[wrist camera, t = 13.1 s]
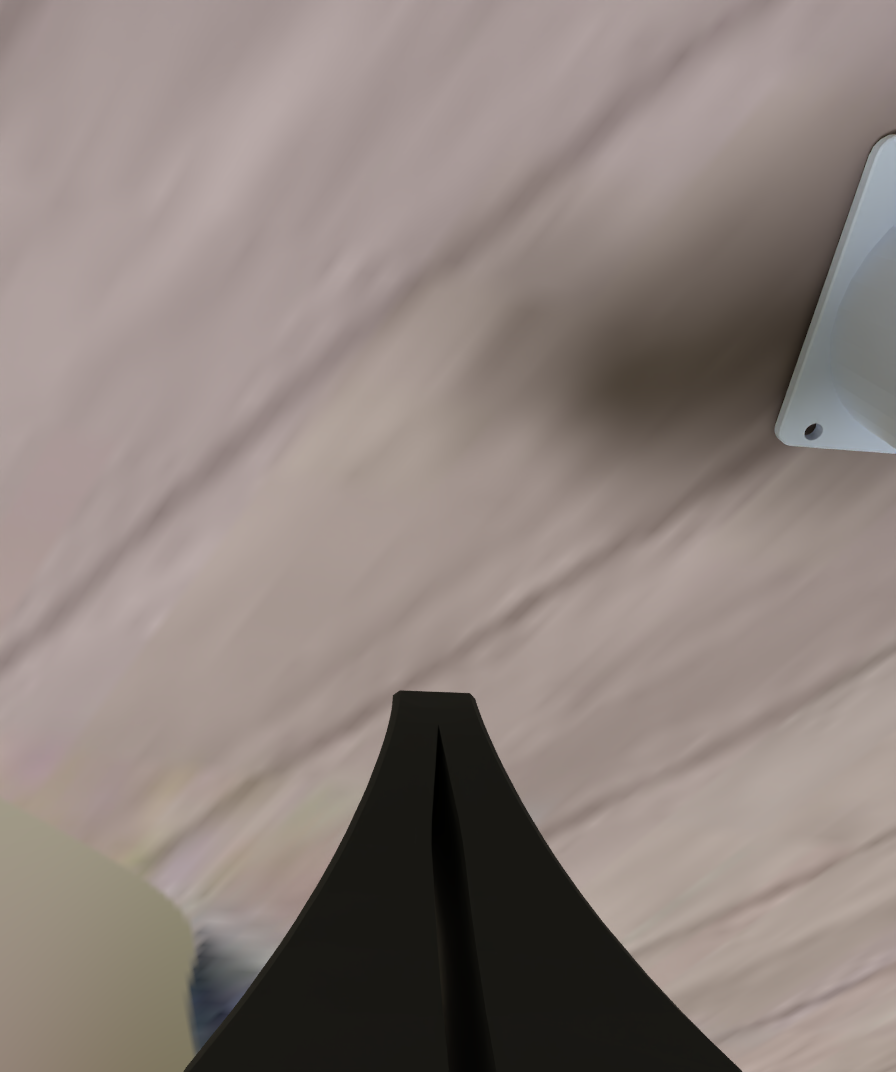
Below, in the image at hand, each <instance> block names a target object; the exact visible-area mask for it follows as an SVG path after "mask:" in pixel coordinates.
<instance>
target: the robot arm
mask: <svg viewBox="0 0 896 1072" xmlns="http://www.w3.org/2000/svg"><path fill="white" fill-rule="evenodd" d="M815 423H816V428H815V429H814V431H813V432H812V433H810V434H809V435H804V434H805V430H806V429H807V427H808V426H810V425H811V424H815ZM775 434H776V437H777V438H778V439H779V440H780V441H782V442H783V443H784V444H785V445H789V446H797V447H811V448H824V449H838V450H851V451H864V452H878V453H891V454H896V134H891V135H887V136H886V137H884V138H882V139H880V140H879V141H878V142H877V143H876V144H875V146H874V147H873V149H872V151H871V152H870V154H869V157H868V160H867V163H866V165H865V168H864V171H863V174H862V177H861V180H860V183H859V186H858V188H857V191H856V194H855V197H854V200H853V203H852V206H851V209H850V211H849V214H848V217H847V220H846V223H845V226H844V229H843V232H842V235H841V237H840V240H839V243H838V246H837V249H836V252H835V255H834V258H833V260H832V263H831V266H830V269H829V272H828V275H827V278H826V281H825V283H824V286H823V289H822V292H821V295H820V298H819V301H818V304H817V306H816V309H815V312H814V315H813V318H812V321H811V324H810V327H809V329H808V332H807V335H806V338H805V341H804V344H803V347H802V350H801V353H800V355H799V358H798V361H797V364H796V367H795V370H794V373H793V376H792V378H791V381H790V384H789V387H788V390H787V393H786V396H785V399H784V401H783V404H782V407H781V410H780V413H779V416H778V419H777V422H776V424H775ZM184 1072H742V1071H741V1070H740V1069H739V1068H738V1067H737V1066H736V1065H735V1064H734V1063H733V1062H732V1061H731V1060H730V1059H729V1058H728V1057H727V1056H726V1055H725V1054H724V1053H723V1052H722V1051H721V1050H720V1049H719V1048H718V1047H717V1046H715V1045H714V1044H713V1043H712V1042H711V1041H710V1040H709V1039H708V1038H707V1037H706V1036H705V1035H704V1034H703V1033H702V1032H701V1031H700V1030H699V1029H698V1028H697V1027H696V1026H695V1025H694V1024H693V1023H692V1022H691V1021H690V1020H689V1019H688V1018H687V1017H686V1016H685V1015H684V1014H683V1013H682V1012H681V1011H680V1009H679V1008H678V1007H677V1006H676V1005H675V1004H674V1003H673V1002H672V1001H671V1000H670V999H669V998H668V997H667V995H666V994H665V993H664V992H663V991H662V990H661V989H660V988H659V987H658V986H657V985H656V984H655V983H654V981H653V980H652V979H651V978H650V977H649V976H648V975H647V974H646V973H645V971H644V970H643V969H642V968H641V967H640V966H639V964H638V963H637V962H636V961H635V960H634V958H633V957H632V956H631V955H630V954H629V952H628V951H627V950H626V949H625V948H624V947H623V945H622V944H621V943H620V942H619V941H618V939H617V938H616V937H615V936H614V935H613V934H612V932H611V931H610V930H609V929H608V928H607V926H606V925H605V924H604V923H603V922H602V920H601V919H600V918H599V916H598V915H597V914H596V912H595V911H594V910H593V909H592V907H591V906H590V905H589V903H588V902H587V901H586V899H585V898H584V897H583V895H582V894H581V893H580V891H579V890H578V889H577V887H576V886H575V884H574V883H573V881H572V880H571V879H570V877H569V876H568V874H567V873H566V872H565V870H564V869H563V867H562V866H561V864H560V863H559V861H558V860H557V858H556V857H555V855H554V854H553V852H552V851H551V849H550V848H549V846H548V845H547V843H546V841H545V840H544V838H543V837H542V835H541V833H540V832H539V830H538V828H537V827H536V825H535V823H534V822H533V820H532V818H531V817H530V815H529V813H528V812H527V810H526V808H525V806H524V805H523V803H522V801H521V799H520V797H519V795H518V794H517V792H516V790H515V788H514V786H513V784H512V782H511V780H510V778H509V777H508V775H507V773H506V771H505V769H504V767H503V765H502V763H501V761H500V759H499V757H498V755H497V752H496V750H495V748H494V746H493V744H492V741H491V739H490V737H489V735H488V732H487V730H486V728H485V725H484V723H483V720H482V718H481V715H480V712H479V709H478V707H477V703H476V700H475V698H474V697H473V696H472V695H471V694H470V693H450V692H425V691H399V692H397V693H396V694H394V695H393V702H392V710H391V716H390V720H389V725H388V728H387V732H386V735H385V739H384V742H383V745H382V748H381V751H380V754H379V757H378V759H377V762H376V765H375V767H374V770H373V772H372V775H371V778H370V780H369V783H368V785H367V788H366V790H365V792H364V795H363V797H362V799H361V801H360V803H359V806H358V808H357V810H356V812H355V814H354V816H353V818H352V821H351V823H350V825H349V827H348V829H347V831H346V833H345V835H344V837H343V839H342V841H341V843H340V845H339V847H338V849H337V851H336V853H335V854H334V856H333V858H332V860H331V862H330V864H329V865H328V867H327V869H326V871H325V872H324V874H323V876H322V878H321V880H320V881H319V883H318V885H317V886H316V888H315V890H314V891H313V893H312V895H311V896H310V898H309V899H308V901H307V903H306V904H305V906H304V908H303V909H302V911H301V912H300V914H299V916H298V917H297V919H296V921H295V922H294V924H293V925H292V927H291V928H290V930H289V931H288V933H287V934H286V936H285V937H284V939H283V940H282V942H281V943H280V945H279V946H278V948H277V949H276V950H275V952H274V953H273V955H272V956H271V957H270V959H269V960H268V962H267V963H266V965H265V966H264V967H263V969H262V970H261V972H260V973H259V974H258V976H257V977H256V979H255V980H254V981H253V983H252V984H251V986H250V987H249V988H248V990H247V991H246V993H245V994H244V995H243V997H242V998H241V999H240V1001H239V1002H238V1003H237V1005H236V1006H235V1007H234V1009H233V1010H232V1011H231V1012H230V1014H229V1015H228V1016H227V1017H226V1019H225V1020H224V1021H223V1022H222V1024H221V1025H220V1026H219V1027H218V1028H217V1030H216V1031H215V1032H214V1033H213V1035H212V1036H211V1037H210V1038H209V1040H208V1041H207V1042H206V1043H205V1045H204V1046H203V1047H202V1048H201V1050H200V1051H199V1052H198V1053H197V1055H196V1056H195V1057H194V1058H193V1060H192V1061H191V1062H190V1063H189V1065H188V1066H187V1067H186V1069H185V1070H184Z"/></svg>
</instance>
